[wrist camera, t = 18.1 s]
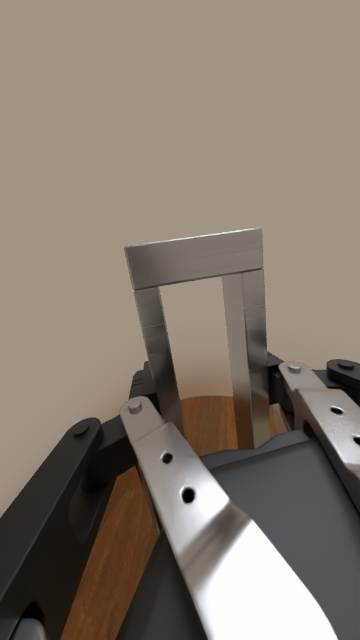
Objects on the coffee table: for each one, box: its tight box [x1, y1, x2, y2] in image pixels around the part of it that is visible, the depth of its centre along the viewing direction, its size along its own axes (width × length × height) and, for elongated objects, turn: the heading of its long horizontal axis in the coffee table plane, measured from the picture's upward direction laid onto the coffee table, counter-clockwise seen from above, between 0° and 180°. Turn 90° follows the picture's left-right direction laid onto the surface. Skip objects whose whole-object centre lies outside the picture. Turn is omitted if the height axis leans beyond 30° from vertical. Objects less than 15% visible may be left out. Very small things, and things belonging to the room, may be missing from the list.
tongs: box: [124, 228, 270, 450], centre depth 9 cm, size 7×2×16 cm, turn 99°
